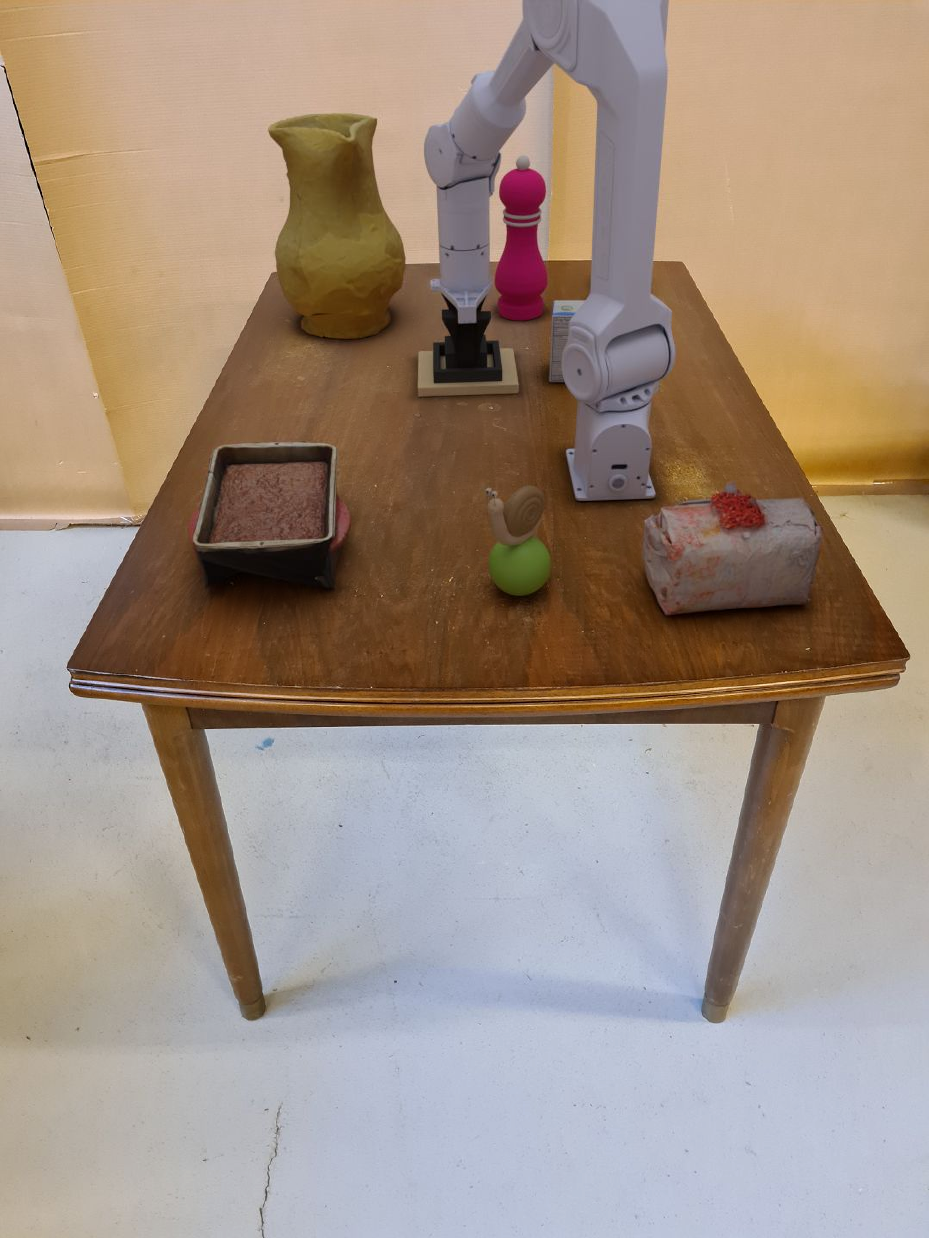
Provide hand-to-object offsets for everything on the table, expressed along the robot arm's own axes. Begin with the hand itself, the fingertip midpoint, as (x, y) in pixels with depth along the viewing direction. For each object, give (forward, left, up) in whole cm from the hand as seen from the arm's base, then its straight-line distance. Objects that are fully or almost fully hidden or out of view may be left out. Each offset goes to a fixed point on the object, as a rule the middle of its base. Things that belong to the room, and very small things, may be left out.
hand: (466, 356), depth 110 cm
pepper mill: (+19, -8, -3) cm, 21 cm away
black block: (0, 0, -1) cm, 1 cm away
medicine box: (-1, -14, -3) cm, 14 cm away
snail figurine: (-42, -3, -3) cm, 42 cm away
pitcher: (+19, +16, -3) cm, 25 cm away
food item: (-43, -21, -3) cm, 48 cm away
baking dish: (-35, +19, -3) cm, 40 cm away
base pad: (0, 0, -2) cm, 2 cm away
